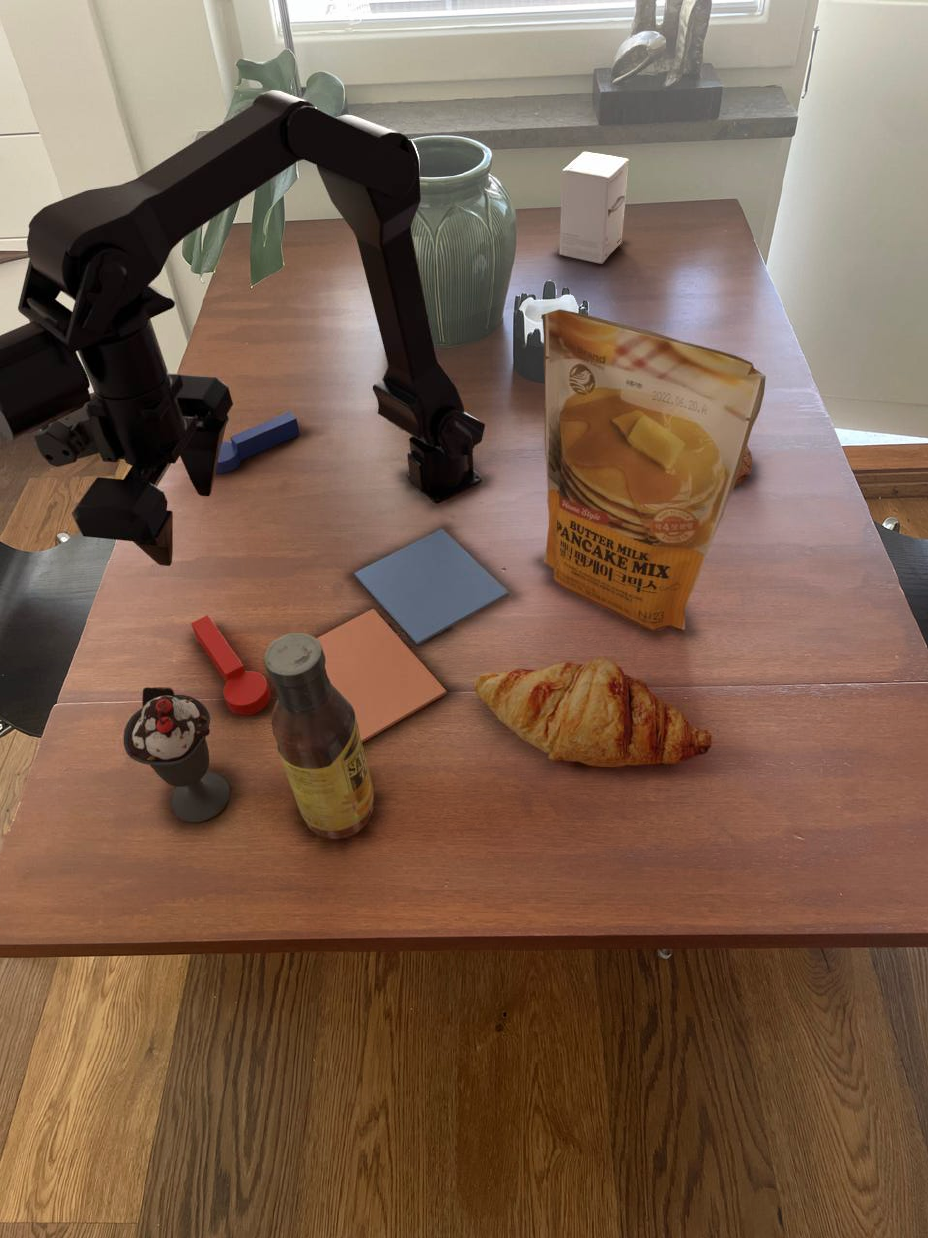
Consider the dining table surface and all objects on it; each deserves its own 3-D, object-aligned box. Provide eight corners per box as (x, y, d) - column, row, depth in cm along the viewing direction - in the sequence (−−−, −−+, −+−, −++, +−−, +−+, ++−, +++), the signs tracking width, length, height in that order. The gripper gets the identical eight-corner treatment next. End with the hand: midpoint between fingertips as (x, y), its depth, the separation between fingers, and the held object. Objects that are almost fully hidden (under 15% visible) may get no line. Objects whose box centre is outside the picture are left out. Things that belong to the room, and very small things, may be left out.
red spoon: (186, 644, 90) (180, 628, 89) (223, 625, 92) (217, 609, 90) (238, 723, 84) (232, 707, 82) (277, 701, 85) (272, 685, 83)
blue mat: (442, 530, 99) (441, 528, 99) (508, 594, 93) (508, 592, 92) (354, 575, 96) (354, 572, 95) (417, 645, 89) (417, 643, 88)
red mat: (373, 610, 92) (373, 608, 92) (446, 693, 85) (446, 690, 84) (285, 657, 89) (284, 655, 88) (353, 748, 81) (352, 745, 81)
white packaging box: (602, 265, 136) (608, 177, 127) (557, 255, 139) (560, 168, 130) (623, 243, 140) (630, 157, 131) (579, 234, 143) (583, 149, 134)
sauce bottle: (381, 834, 75) (345, 685, 61) (306, 850, 75) (251, 704, 60) (370, 768, 80) (334, 614, 65) (298, 783, 79) (245, 631, 64)
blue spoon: (289, 423, 114) (285, 407, 112) (304, 438, 112) (300, 422, 110) (201, 460, 110) (196, 444, 108) (215, 477, 108) (210, 461, 106)
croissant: (467, 741, 85) (446, 729, 78) (496, 638, 87) (478, 616, 80) (698, 803, 79) (699, 796, 72) (723, 691, 81) (727, 672, 74)
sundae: (224, 838, 76) (172, 733, 65) (149, 825, 77) (85, 720, 66) (252, 770, 80) (207, 661, 69) (180, 759, 81) (125, 650, 70)
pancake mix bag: (556, 533, 98) (564, 288, 78) (718, 609, 90) (776, 357, 69) (519, 570, 95) (517, 324, 74) (684, 652, 87) (734, 401, 66)
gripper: (88, 309, 78) (145, 456, 90) (-29, 444, 66) (54, 594, 78) (211, 316, 76) (253, 465, 88) (114, 456, 64) (177, 608, 76)
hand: (186, 528), depth 82 cm, fingers open, 9 cm apart
